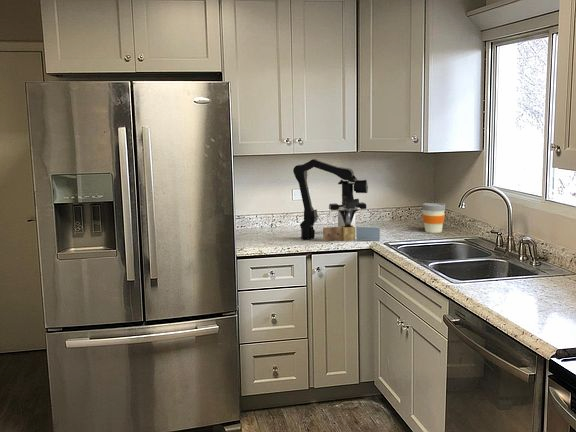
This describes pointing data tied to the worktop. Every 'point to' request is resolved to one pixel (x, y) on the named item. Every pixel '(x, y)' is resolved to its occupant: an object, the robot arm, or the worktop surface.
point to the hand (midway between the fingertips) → (347, 222)
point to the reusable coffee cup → (433, 216)
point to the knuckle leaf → (339, 233)
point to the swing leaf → (368, 233)
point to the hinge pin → (347, 217)
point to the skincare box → (341, 222)
